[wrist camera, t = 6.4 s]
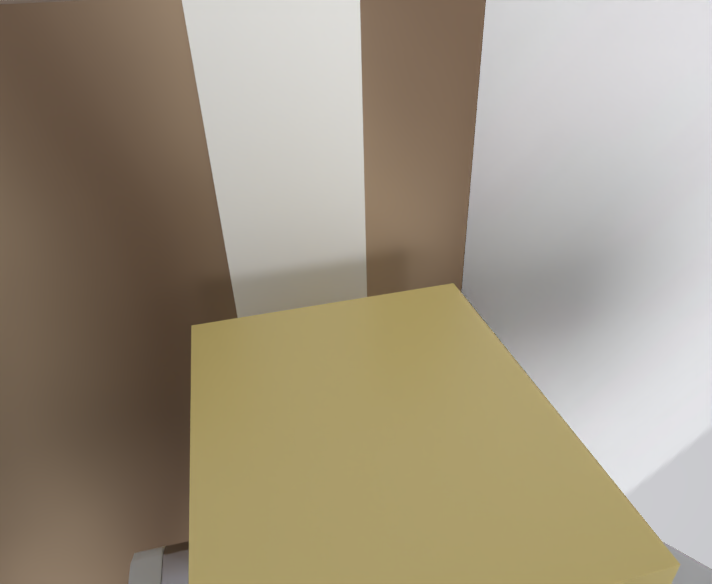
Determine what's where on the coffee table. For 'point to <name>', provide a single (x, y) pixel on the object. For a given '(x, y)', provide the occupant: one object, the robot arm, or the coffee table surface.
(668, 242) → the coffee table surface
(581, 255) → the coffee table surface
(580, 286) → the coffee table surface
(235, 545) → the block
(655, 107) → the coffee table surface
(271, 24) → the board
